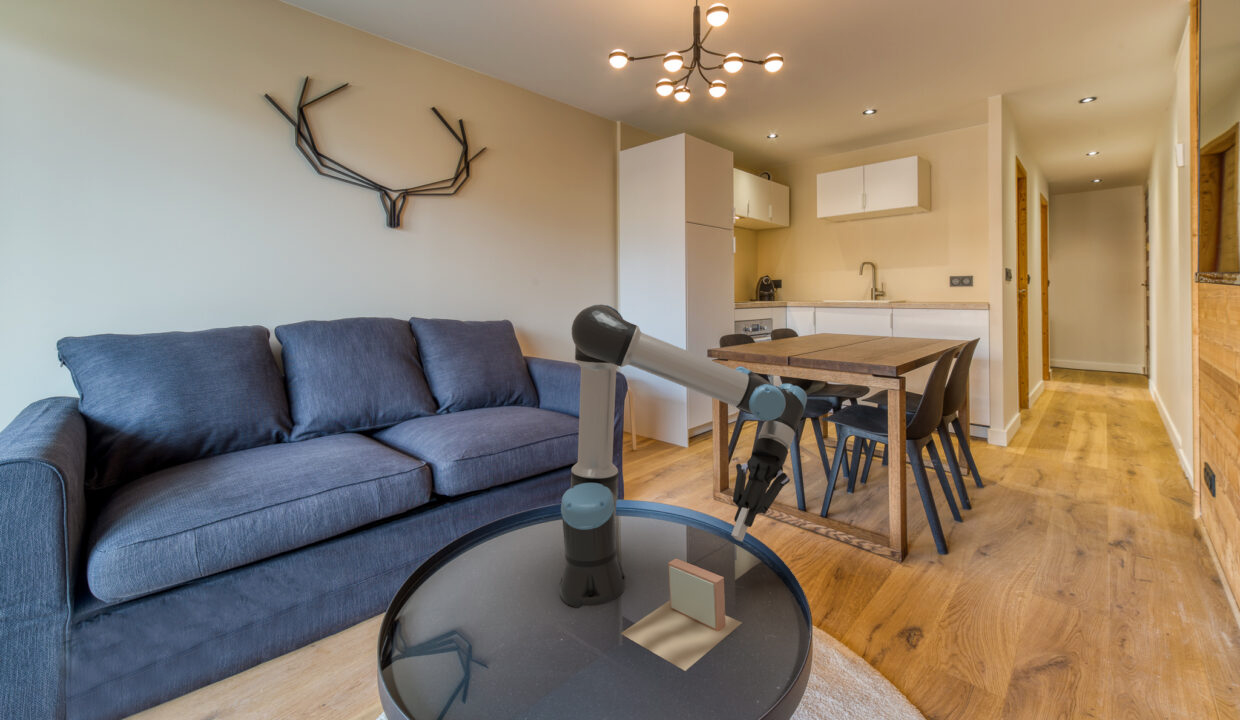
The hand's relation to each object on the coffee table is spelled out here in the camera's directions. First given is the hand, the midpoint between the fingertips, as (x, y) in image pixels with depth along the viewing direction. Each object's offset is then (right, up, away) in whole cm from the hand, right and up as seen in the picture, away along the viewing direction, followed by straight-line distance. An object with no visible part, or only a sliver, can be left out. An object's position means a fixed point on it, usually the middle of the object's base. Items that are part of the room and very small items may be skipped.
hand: (736, 538), depth 116 cm
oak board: (-13, -15, -11) cm, 22 cm away
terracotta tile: (-10, -13, -7) cm, 18 cm away
